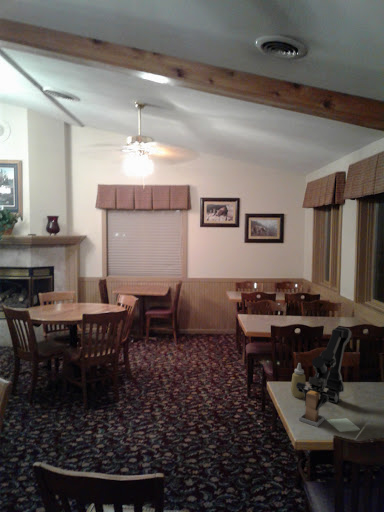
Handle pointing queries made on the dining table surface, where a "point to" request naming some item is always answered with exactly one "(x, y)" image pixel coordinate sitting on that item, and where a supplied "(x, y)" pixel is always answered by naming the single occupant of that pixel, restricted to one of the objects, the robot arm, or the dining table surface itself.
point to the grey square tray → (320, 420)
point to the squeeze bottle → (296, 378)
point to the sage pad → (343, 425)
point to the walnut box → (312, 406)
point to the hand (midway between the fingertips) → (311, 408)
